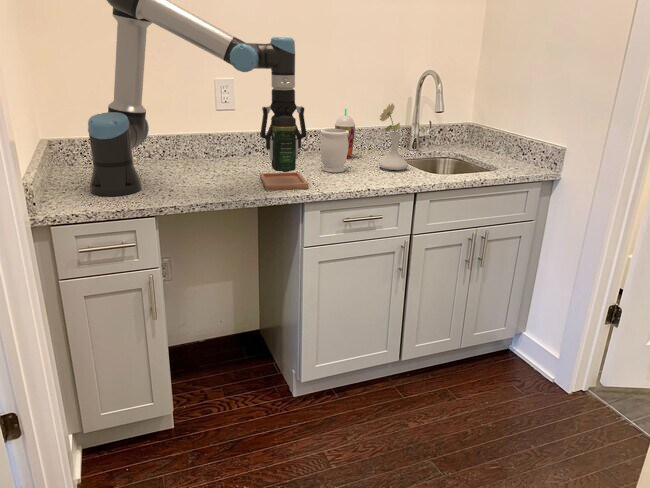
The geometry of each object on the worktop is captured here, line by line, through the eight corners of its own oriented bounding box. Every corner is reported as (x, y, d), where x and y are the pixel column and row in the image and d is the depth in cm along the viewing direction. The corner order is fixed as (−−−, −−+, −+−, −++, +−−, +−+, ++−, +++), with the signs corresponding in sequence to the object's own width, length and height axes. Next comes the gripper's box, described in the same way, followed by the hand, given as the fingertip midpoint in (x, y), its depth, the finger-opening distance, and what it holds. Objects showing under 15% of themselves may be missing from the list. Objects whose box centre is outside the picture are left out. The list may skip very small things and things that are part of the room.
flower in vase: (394, 164, 215) (399, 100, 206) (413, 170, 206) (419, 104, 197) (369, 167, 208) (372, 101, 199) (387, 174, 199) (392, 105, 190)
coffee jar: (298, 172, 178) (298, 115, 171) (274, 173, 176) (273, 116, 169) (292, 165, 186) (292, 111, 180) (270, 166, 185) (269, 111, 178)
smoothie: (332, 155, 227) (334, 107, 220) (352, 155, 228) (354, 107, 221) (335, 159, 219) (336, 110, 212) (355, 159, 220) (357, 110, 213)
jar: (314, 169, 202) (314, 130, 197) (332, 165, 209) (333, 127, 204) (334, 175, 196) (336, 134, 190) (352, 170, 203) (354, 131, 197)
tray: (266, 190, 174) (266, 185, 174) (260, 178, 189) (259, 173, 188) (308, 189, 177) (308, 183, 177) (298, 176, 192) (298, 172, 191)
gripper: (252, 89, 166) (254, 162, 174) (317, 89, 170) (316, 160, 179) (249, 87, 172) (251, 157, 181) (312, 87, 177) (311, 155, 186)
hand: (283, 158), depth 180 cm, fingers closed on coffee jar, 8 cm apart
